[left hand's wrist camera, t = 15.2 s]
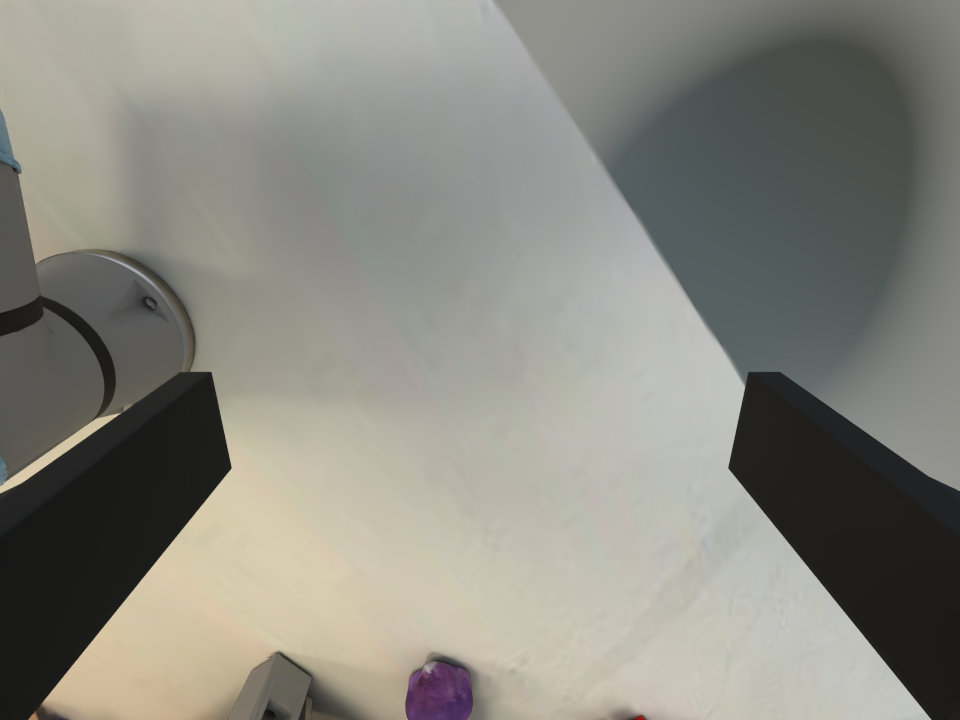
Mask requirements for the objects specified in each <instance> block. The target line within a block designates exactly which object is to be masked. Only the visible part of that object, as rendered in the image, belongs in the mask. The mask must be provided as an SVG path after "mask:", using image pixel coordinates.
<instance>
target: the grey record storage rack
mask: <svg viewBox="0 0 960 720" xmlns="http://www.w3.org/2000/svg"><path fill="white" fill-rule="evenodd" d="M267 658H272V659H270V660H269V661H267V662H265V663H264V664H262V665H261V666H259V667H258V668H256V669H254V670H253V671H251V672H250V674H249V676H248V678H247V680H246V682H245V684H244V687H243V689H242V691H241V693H240V695H239V697H238V699H237V701H236V703H235V705H234V707H233V709H232V711H231V713H230V715H229V717H228V719H227V720H311V710H312V701H313V699H311V698H309V697H306V695H307V692H308V689H309V686H310V683H311V680H312V677H310V676H309V675H307V674H306V673H304V672H303V671H301V670H300V669H299V668H297V667H296V666H294V665H293V664H291V663H290V662H289V661H287V660H286V659H284V658H283V657H282V656H281V655H280V654H275V655H272V656H270V657H267ZM305 698H306V699H305ZM304 701H305V702H304Z"/></svg>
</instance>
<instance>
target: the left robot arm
mask: <svg viewBox="0 0 960 720" xmlns="http://www.w3.org/2000/svg"><path fill="white" fill-rule="evenodd" d="M20 173H21V167H20V164H19V163H18V162H17V161H16V160H15V159H14V156H13V152H12V148H11V144H10V139H9V135H8V131H7V127H6V123H5V119H4V116H3V114H2V111H1V109H0V486H1V485H3V483H4V482H6V481H7V480H9V479H10V478H11V477H13V476H14V475H16V474H17V473H19V472H20V471H21V470H23V469H24V468H26V467H27V466H29V465H30V464H31V463H33V462H34V461H36V460H37V459H39V458H40V457H42V456H43V455H44V454H46V453H47V452H49V451H50V450H52V449H53V448H54V447H56V446H57V445H59V444H60V443H62V442H63V441H65V440H66V439H67V438H69V437H70V436H72V435H73V434H75V433H76V432H77V431H79V430H80V429H82V428H83V427H85V426H86V425H87V424H89V423H90V422H92V421H93V420H95V419H96V418H100V417H105V416H109V415H113V414H117V413H121V414H120V415H118V416H117V417H115V418H114V419H113V420H111V421H110V422H108V423H107V424H105V425H104V426H103V427H101V428H100V429H98V430H97V431H96V432H94V433H93V434H91V435H90V436H88V437H87V438H86V439H84V440H83V441H81V442H80V443H78V444H77V445H76V446H74V447H73V448H71V449H70V450H69V451H67V452H66V453H64V454H63V455H61V456H60V457H59V458H57V459H56V460H54V461H53V462H51V463H50V464H49V465H47V466H46V467H44V468H43V469H42V470H40V471H39V472H37V473H36V474H34V475H33V476H32V477H30V478H29V479H27V480H26V481H24V482H23V483H21V484H19V485H17V486H15V487H13V488H11V489H9V490H7V491H5V492H3V493H1V494H0V720H29V718H30V717H31V716H32V715H33V713H34V712H35V711H36V710H37V708H38V707H39V706H40V705H41V704H42V702H43V701H44V700H45V699H46V697H47V696H48V695H49V694H50V692H51V691H52V690H53V689H54V687H55V686H56V685H57V684H58V682H59V681H60V680H61V679H62V678H63V676H64V675H65V674H66V673H67V671H68V670H69V669H70V668H71V666H72V665H73V664H74V663H75V661H76V660H77V659H78V658H79V656H80V655H81V654H82V653H83V652H84V650H85V649H86V648H87V647H88V645H89V644H90V643H91V642H92V640H93V639H94V638H95V637H96V635H97V634H98V633H99V632H100V631H101V629H102V628H103V627H104V626H105V624H106V623H107V622H108V621H109V619H110V618H111V617H112V616H113V614H114V613H115V612H116V611H117V609H118V608H119V607H120V606H121V605H122V603H123V602H124V601H125V600H126V598H127V597H128V596H129V595H130V593H131V592H132V591H133V590H134V588H135V587H136V586H137V585H138V583H139V582H140V581H141V580H142V579H143V577H144V576H145V575H146V574H147V572H148V571H149V570H150V569H151V567H152V566H153V565H154V564H155V562H156V561H157V560H158V559H159V557H160V556H161V555H162V554H163V553H164V551H165V550H166V549H167V548H168V546H169V545H170V544H171V543H172V541H173V540H174V539H175V538H176V536H177V535H178V534H179V533H180V532H181V530H182V529H183V528H184V527H185V525H186V524H187V523H188V522H189V520H190V519H191V518H192V517H193V515H194V514H195V513H196V512H197V510H198V509H199V508H200V507H201V506H202V504H203V503H204V502H205V501H206V499H207V498H208V497H209V496H210V494H211V493H212V492H213V491H214V489H215V488H216V487H217V486H218V484H219V483H220V482H221V481H222V480H223V478H224V477H225V476H226V475H227V473H228V472H229V471H230V470H231V468H232V467H231V463H230V458H229V453H228V448H227V444H226V439H225V434H224V429H223V425H222V420H221V415H220V410H219V406H218V401H217V396H216V391H215V387H214V382H213V377H212V372H188V371H189V369H190V367H191V364H192V360H193V356H194V335H193V330H192V326H191V323H190V320H189V317H188V315H187V313H186V311H185V309H184V307H183V305H182V303H181V302H180V300H179V299H178V297H177V296H176V294H175V293H174V292H173V291H172V289H171V288H170V287H169V286H168V285H167V284H166V283H165V282H164V281H163V280H162V279H161V278H160V277H159V276H157V275H156V274H155V273H154V272H152V271H151V270H149V269H148V268H147V267H145V266H143V265H142V264H140V263H138V262H136V261H134V260H132V259H130V258H128V257H125V256H123V255H120V254H116V253H113V252H108V251H103V250H89V249H87V250H77V251H72V252H67V253H63V254H58V255H55V256H51V257H48V258H46V259H44V260H42V261H40V262H38V263H37V264H35V260H34V255H33V250H32V245H31V239H30V234H29V229H28V224H27V218H26V213H25V208H24V203H23V197H22V192H21V187H20V182H19V176H18V174H20ZM728 468H729V470H730V471H731V472H732V473H733V475H734V476H735V477H736V478H737V480H738V481H739V482H740V483H741V484H742V486H743V487H744V488H745V489H746V491H747V492H748V493H749V494H750V496H751V497H752V498H753V499H754V501H755V502H756V503H757V504H758V506H759V507H760V508H761V509H762V510H763V512H764V513H765V514H766V515H767V517H768V518H769V519H770V520H771V522H772V523H773V524H774V525H775V527H776V528H777V529H778V530H779V532H780V533H781V534H782V535H783V536H784V538H785V539H786V540H787V541H788V543H789V544H790V545H791V546H792V548H793V549H794V550H795V551H796V553H797V554H798V555H799V556H800V557H801V559H802V560H803V561H804V562H805V564H806V565H807V566H808V567H809V569H810V570H811V571H812V572H813V574H814V575H815V576H816V577H817V579H818V580H819V581H820V582H821V583H822V585H823V586H824V587H825V588H826V590H827V591H828V592H829V593H830V595H831V596H832V597H833V598H834V600H835V601H836V602H837V603H838V605H839V606H840V607H841V608H842V609H843V611H844V612H845V613H846V614H847V616H848V617H849V618H850V619H851V621H852V622H853V623H854V624H855V626H856V627H857V628H858V629H859V631H860V632H861V633H862V634H863V635H864V637H865V638H866V639H867V640H868V642H869V643H870V644H871V645H872V647H873V648H874V649H875V650H876V652H877V653H878V654H879V655H880V656H881V658H882V659H883V660H884V661H885V663H886V664H887V665H888V666H889V668H890V669H891V670H892V671H893V673H894V674H895V675H896V676H897V678H898V679H899V680H900V681H901V682H902V684H903V685H904V686H905V687H906V689H907V690H908V691H909V692H910V694H911V695H912V696H913V697H914V699H915V700H916V701H917V702H918V704H919V705H920V706H921V707H922V708H923V710H924V711H925V712H926V713H927V715H928V716H929V717H930V718H931V720H960V491H958V490H956V489H954V488H952V487H949V486H947V485H945V484H943V483H941V482H939V481H937V480H935V479H933V478H931V477H928V476H927V475H926V474H924V473H923V472H921V471H920V470H918V469H917V468H916V467H914V466H913V465H911V464H910V463H909V462H907V461H906V460H904V459H903V458H901V457H900V456H899V455H897V454H896V453H894V452H893V451H891V450H890V449H889V448H887V447H886V446H884V445H883V444H882V443H880V442H879V441H877V440H876V439H874V438H873V437H872V436H870V435H869V434H867V433H866V432H864V431H863V430H862V429H860V428H859V427H857V426H856V425H855V424H853V423H852V422H850V421H849V420H847V419H846V418H845V417H843V416H842V415H840V414H839V413H837V412H836V411H835V410H833V409H832V408H830V407H829V406H828V405H826V404H825V403H823V402H822V401H820V400H819V399H818V398H816V397H815V396H813V395H812V394H810V393H809V392H808V391H806V390H805V389H803V388H802V387H800V386H799V385H798V384H796V383H795V382H793V381H792V380H791V379H789V378H788V377H786V376H785V375H783V374H782V373H781V372H749V373H748V377H747V382H746V387H745V391H744V396H743V401H742V406H741V410H740V415H739V420H738V425H737V429H736V434H735V439H734V444H733V448H732V453H731V458H730V463H729V467H728Z"/></svg>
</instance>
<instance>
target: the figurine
mask: <svg viewBox="0 0 960 720" xmlns="http://www.w3.org/2000/svg"><path fill="white" fill-rule="evenodd" d="M471 688H472V686H471V678H470V674H469V672H467V671H466V669H463V668H460V667H459V668H458V667H455V666H452V665H450V664H446V663H443V662H437V661H432V662H427V663H426V664H425V665H424V666H423V669H421V670H419V671H417V672H415V673H413V674H412V675H411V676H410V678H409V687H408V692H407V697H406V703H405V708H406V715H407V718H408V720H467V719H468V717H469V716H470V714H471V711H472V705H473V697H472V689H471Z"/></svg>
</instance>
